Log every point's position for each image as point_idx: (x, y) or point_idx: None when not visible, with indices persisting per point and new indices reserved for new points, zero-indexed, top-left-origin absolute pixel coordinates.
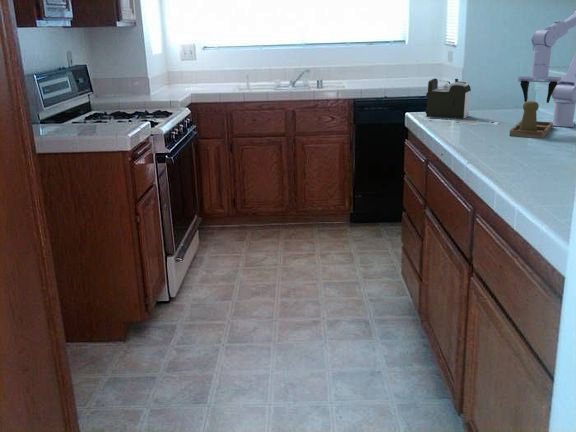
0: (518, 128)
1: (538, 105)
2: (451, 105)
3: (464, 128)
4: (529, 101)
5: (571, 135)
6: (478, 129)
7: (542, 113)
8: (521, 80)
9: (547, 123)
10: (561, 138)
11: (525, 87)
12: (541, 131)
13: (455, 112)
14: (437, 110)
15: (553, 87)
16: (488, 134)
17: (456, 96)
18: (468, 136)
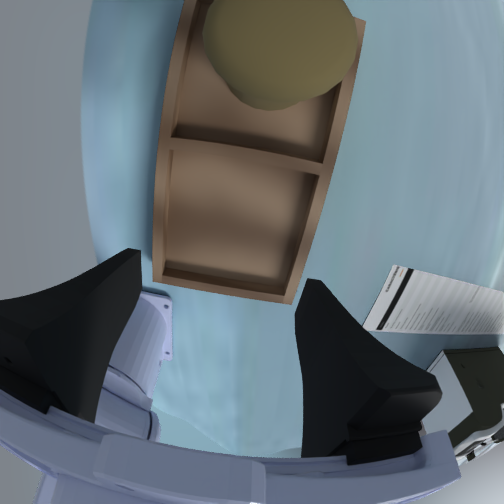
0: (314, 159)
1: (204, 26)
2: (479, 375)
3: (494, 190)
4: (306, 23)
5: (81, 108)
6: (463, 173)
7: (216, 435)
8: (410, 455)
9: (176, 275)
10: (120, 24)
11: (369, 362)
12: (198, 100)
13: (464, 361)
14: (492, 360)
15: (14, 302)
16: (438, 59)
17: (483, 397)
18: (487, 33)
